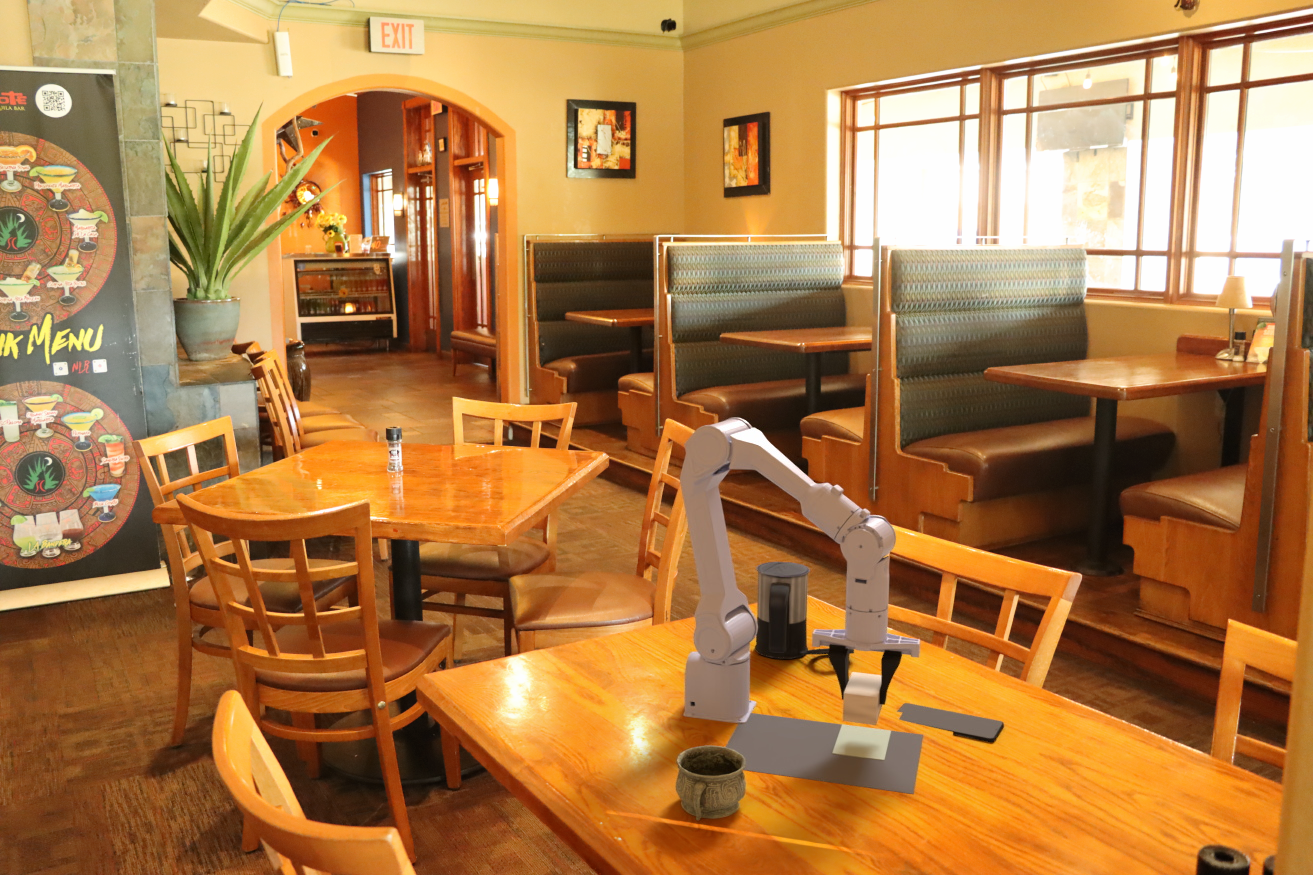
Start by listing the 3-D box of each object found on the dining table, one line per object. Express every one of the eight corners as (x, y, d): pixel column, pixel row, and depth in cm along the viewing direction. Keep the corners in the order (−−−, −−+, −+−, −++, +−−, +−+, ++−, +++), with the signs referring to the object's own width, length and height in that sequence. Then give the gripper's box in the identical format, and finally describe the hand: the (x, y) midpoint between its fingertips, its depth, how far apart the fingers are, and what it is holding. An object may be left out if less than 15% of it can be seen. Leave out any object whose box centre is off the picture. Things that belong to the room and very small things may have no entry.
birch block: (851, 698, 157) (852, 671, 156) (883, 702, 155) (884, 675, 155) (842, 720, 149) (843, 693, 149) (876, 725, 148) (877, 697, 147)
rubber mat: (714, 768, 147) (714, 764, 146) (744, 714, 163) (744, 711, 163) (913, 796, 139) (913, 792, 139) (923, 737, 156) (923, 733, 156)
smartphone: (904, 701, 167) (1004, 721, 160) (904, 707, 167) (1004, 726, 160) (889, 718, 161) (993, 739, 154) (889, 724, 161) (993, 745, 154)
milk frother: (750, 641, 194) (751, 561, 191) (837, 638, 196) (839, 558, 193) (766, 672, 180) (767, 585, 177) (859, 668, 182) (862, 582, 179)
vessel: (731, 837, 130) (732, 787, 128) (661, 824, 132) (661, 775, 131) (756, 790, 141) (757, 744, 140) (691, 779, 144) (691, 734, 143)
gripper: (809, 609, 148) (807, 704, 151) (918, 620, 144) (915, 717, 146) (817, 594, 155) (815, 685, 157) (922, 603, 151) (918, 696, 153)
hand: (863, 699), depth 152 cm, fingers closed on birch block, 4 cm apart
